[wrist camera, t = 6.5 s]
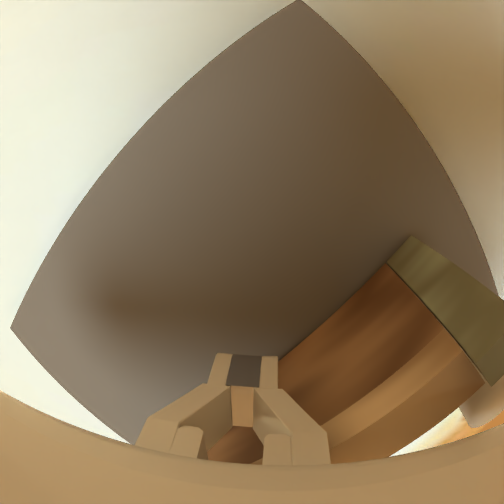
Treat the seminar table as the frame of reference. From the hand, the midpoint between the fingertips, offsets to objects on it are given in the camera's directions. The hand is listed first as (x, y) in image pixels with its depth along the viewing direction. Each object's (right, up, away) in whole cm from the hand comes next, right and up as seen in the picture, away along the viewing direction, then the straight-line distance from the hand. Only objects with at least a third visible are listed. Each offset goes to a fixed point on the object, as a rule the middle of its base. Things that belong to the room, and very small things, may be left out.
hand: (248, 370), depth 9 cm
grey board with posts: (-1, 0, +5) cm, 5 cm away
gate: (+1, -2, +4) cm, 4 cm away
